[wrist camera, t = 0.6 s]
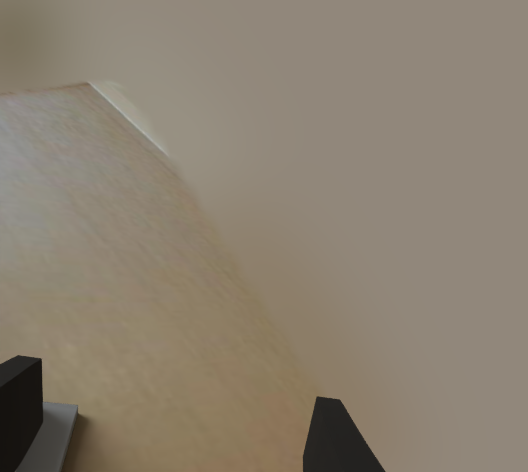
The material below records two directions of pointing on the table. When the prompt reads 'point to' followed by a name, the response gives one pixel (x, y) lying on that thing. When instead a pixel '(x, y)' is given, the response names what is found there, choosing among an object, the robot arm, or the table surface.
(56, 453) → the rail board
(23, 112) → the table surface
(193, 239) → the table surface
